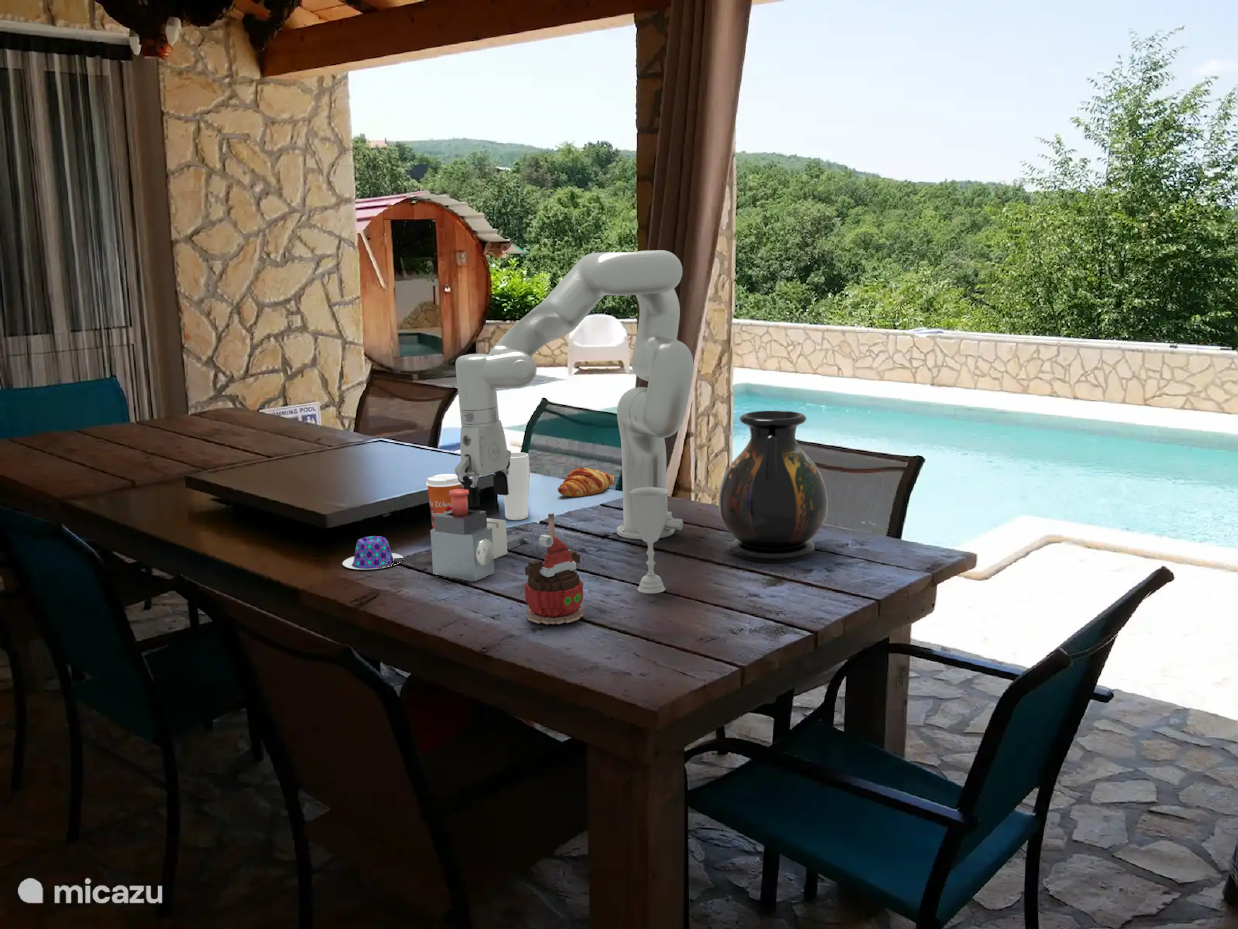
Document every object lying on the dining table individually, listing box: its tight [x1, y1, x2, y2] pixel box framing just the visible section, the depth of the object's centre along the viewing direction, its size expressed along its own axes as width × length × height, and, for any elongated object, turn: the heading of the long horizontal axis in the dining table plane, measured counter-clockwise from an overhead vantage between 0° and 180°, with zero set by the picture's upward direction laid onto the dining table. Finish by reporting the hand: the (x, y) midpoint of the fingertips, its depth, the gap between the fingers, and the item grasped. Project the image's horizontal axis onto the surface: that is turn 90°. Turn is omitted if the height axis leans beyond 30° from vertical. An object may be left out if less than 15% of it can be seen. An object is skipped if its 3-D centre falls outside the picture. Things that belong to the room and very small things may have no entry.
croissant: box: [557, 467, 615, 498], centre depth 277 cm, size 21×10×8 cm, turn 143°
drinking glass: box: [502, 451, 530, 521], centre depth 249 cm, size 7×7×15 cm
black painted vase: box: [718, 410, 829, 564], centre depth 212 cm, size 22×22×28 cm
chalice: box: [630, 487, 669, 594], centre depth 192 cm, size 7×7×18 cm
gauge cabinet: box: [429, 508, 495, 582], centre depth 205 cm, size 10×7×12 cm
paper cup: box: [425, 473, 462, 529], centre depth 231 cm, size 8×8×14 cm
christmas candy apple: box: [524, 512, 584, 625], centre depth 178 cm, size 11×9×18 cm
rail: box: [507, 534, 531, 549], centre depth 222 cm, size 5×16×2 cm, turn 150°
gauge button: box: [449, 488, 469, 517], centre depth 204 cm, size 4×4×5 cm
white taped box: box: [487, 517, 508, 560], centre depth 218 cm, size 6×6×7 cm
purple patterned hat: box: [342, 535, 404, 571], centre depth 216 cm, size 12×12×5 cm
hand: (487, 500), depth 217 cm, fingers open, 9 cm apart
